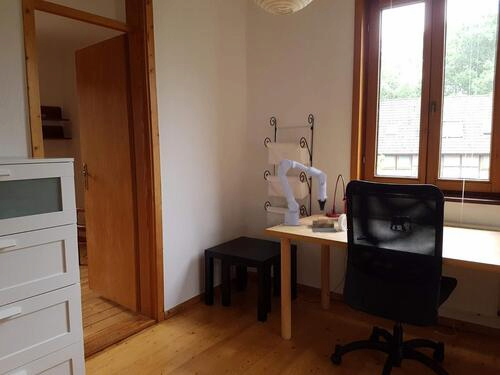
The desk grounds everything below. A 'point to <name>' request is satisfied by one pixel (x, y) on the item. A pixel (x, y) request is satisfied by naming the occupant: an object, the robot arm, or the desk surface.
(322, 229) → the mat
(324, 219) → the tile
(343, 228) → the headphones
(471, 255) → the desk surface
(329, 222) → the deck
